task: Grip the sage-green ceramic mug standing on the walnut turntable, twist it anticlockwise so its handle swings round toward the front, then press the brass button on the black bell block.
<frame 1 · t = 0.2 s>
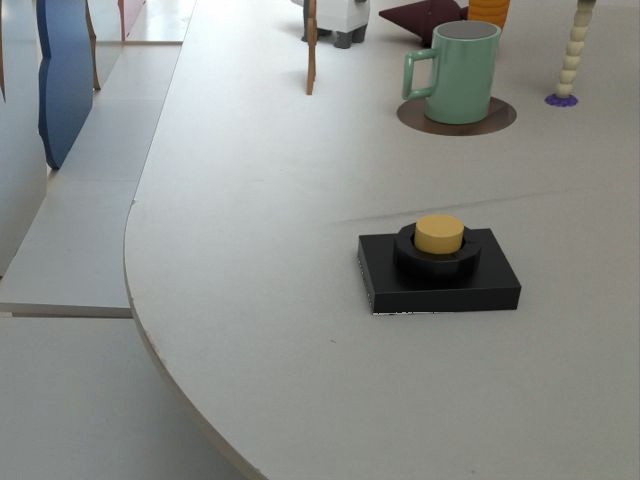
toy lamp: (560, 114, 89), on the table
carrot: (479, 69, 102), on the table
mug: (447, 74, 86), point 6 cm above the table, hinge at 0.0°
giant panda: (325, 40, 117), on the table
turntable: (454, 123, 89), on the table
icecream: (429, 45, 111), on the table
gingerbread man figurine: (311, 95, 100), on the table
bell block: (432, 281, 65), on the table
bell button: (438, 234, 62), point 4 cm above the table, slide at 0.1 cm
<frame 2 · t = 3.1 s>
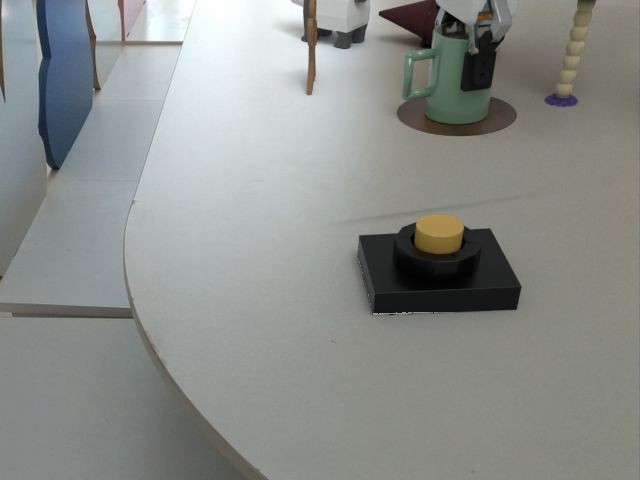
hand: (460, 76, 86), 5 cm above the table, tool pointing down, fingers closed on mug, 6 cm apart
mug: (447, 74, 86), point 6 cm above the table, hinge at -0.1°, touching gripper
everything else where it was.
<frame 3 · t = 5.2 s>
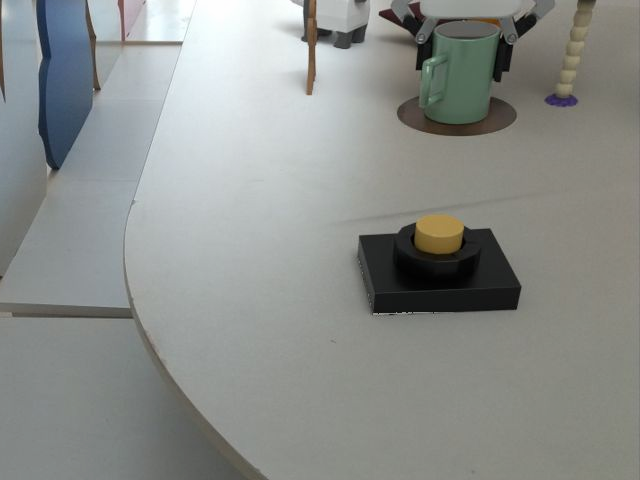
hand: (460, 76, 86), 5 cm above the table, tool pointing down, fingers closed on mug, 6 cm apart
mug: (452, 76, 85), point 6 cm above the table, hinge at 30.2°, touching gripper
everything else where it was.
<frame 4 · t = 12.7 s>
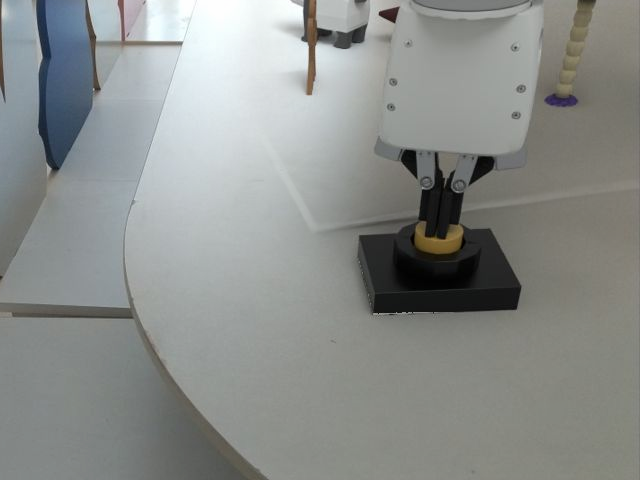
hand: (437, 229, 62), 5 cm above the table, tool pointing down, fingers closed
mug: (456, 77, 85), point 6 cm above the table, hinge at 47.7°
bell button: (438, 238, 63), point 4 cm above the table, slide at -0.3 cm, touching gripper
everything else where it was.
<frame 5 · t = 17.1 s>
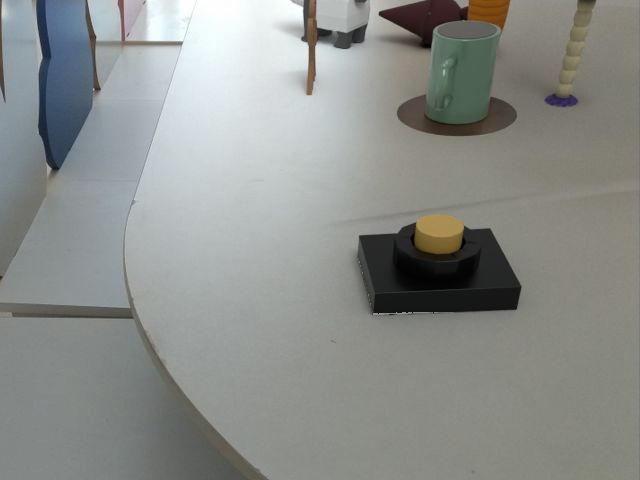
bell button: (438, 234, 62), point 4 cm above the table, slide at 0.1 cm
everything else where it was.
at the end: mug at +48° (first picture: +0°); bell button pushed in 1.1 cm at the most during the clip, back to where it started at the end; bell button slide at 0.1 cm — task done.
